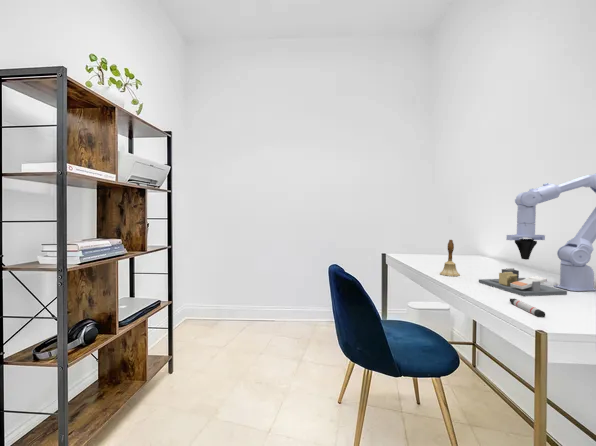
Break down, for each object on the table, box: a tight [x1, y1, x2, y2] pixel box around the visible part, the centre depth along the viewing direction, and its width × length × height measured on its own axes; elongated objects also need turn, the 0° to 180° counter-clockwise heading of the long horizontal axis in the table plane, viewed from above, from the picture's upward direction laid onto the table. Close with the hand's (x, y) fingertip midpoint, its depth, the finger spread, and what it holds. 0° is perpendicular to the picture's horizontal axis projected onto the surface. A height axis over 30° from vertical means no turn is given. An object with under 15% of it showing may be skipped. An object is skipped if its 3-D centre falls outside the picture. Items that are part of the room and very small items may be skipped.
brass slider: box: [498, 272, 517, 286], centre depth 120 cm, size 4×4×5 cm
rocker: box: [510, 275, 548, 289], centre depth 113 cm, size 10×5×1 cm, turn 98°
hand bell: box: [439, 239, 461, 277], centre depth 147 cm, size 8×8×16 cm
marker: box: [509, 298, 546, 318], centre depth 94 cm, size 15×2×2 cm, turn 175°
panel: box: [478, 277, 568, 297], centre depth 121 cm, size 16×22×5 cm
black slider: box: [501, 267, 520, 281], centre depth 128 cm, size 4×4×5 cm
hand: (525, 259), depth 123 cm, fingers closed
